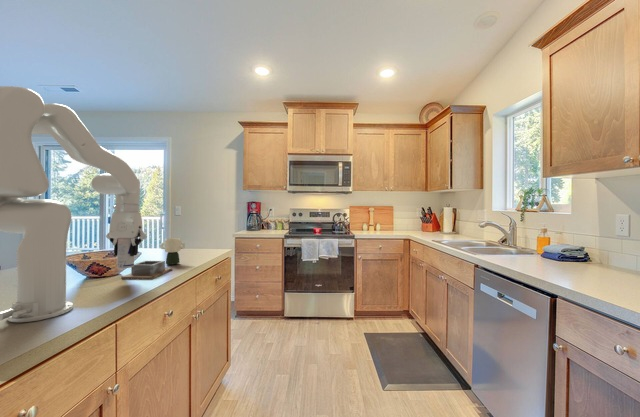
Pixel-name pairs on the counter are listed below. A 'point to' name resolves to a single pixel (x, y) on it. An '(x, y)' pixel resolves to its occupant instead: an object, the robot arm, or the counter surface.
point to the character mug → (172, 250)
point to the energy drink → (124, 253)
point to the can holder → (147, 270)
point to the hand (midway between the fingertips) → (125, 255)
